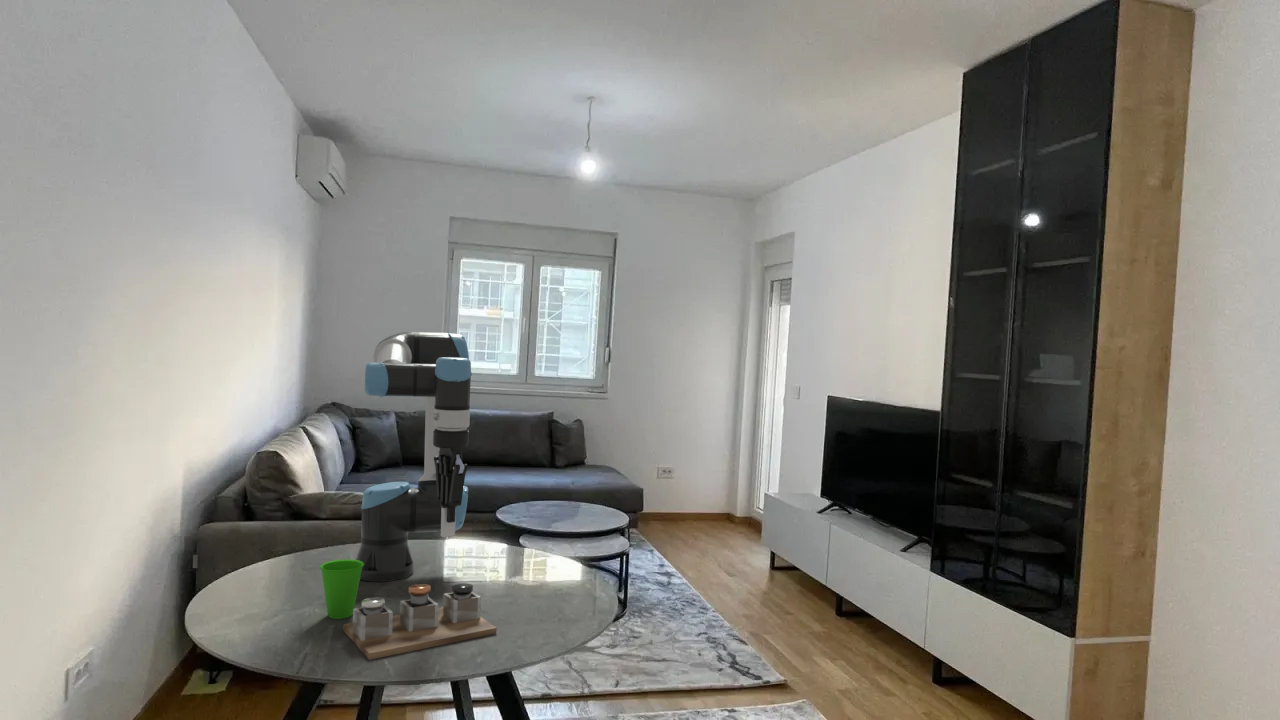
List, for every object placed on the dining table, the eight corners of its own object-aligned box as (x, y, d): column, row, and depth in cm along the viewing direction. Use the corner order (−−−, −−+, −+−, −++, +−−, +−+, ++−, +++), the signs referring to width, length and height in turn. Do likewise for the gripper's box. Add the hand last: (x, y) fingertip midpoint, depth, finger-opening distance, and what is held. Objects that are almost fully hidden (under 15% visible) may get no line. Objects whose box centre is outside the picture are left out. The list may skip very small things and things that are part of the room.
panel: (343, 630, 156) (344, 602, 156) (462, 608, 171) (462, 583, 171) (369, 659, 141) (370, 628, 141) (496, 633, 157) (497, 605, 157)
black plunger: (448, 608, 163) (448, 585, 163) (467, 604, 166) (468, 582, 166) (456, 614, 160) (456, 590, 160) (475, 610, 162) (476, 587, 162)
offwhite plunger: (358, 624, 152) (358, 599, 152) (380, 620, 155) (380, 596, 155) (364, 630, 148) (365, 605, 148) (386, 626, 151) (387, 601, 151)
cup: (371, 611, 168) (372, 562, 168) (342, 624, 159) (344, 572, 159) (338, 605, 171) (340, 557, 171) (308, 618, 162) (310, 567, 162)
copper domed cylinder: (404, 609, 158) (405, 585, 158) (425, 606, 160) (426, 582, 160) (412, 615, 154) (412, 591, 154) (433, 612, 157) (433, 588, 157)
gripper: (423, 425, 167) (420, 531, 167) (446, 433, 156) (443, 545, 157) (455, 424, 171) (452, 527, 172) (480, 431, 161) (476, 540, 162)
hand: (447, 535), depth 164 cm, fingers closed
